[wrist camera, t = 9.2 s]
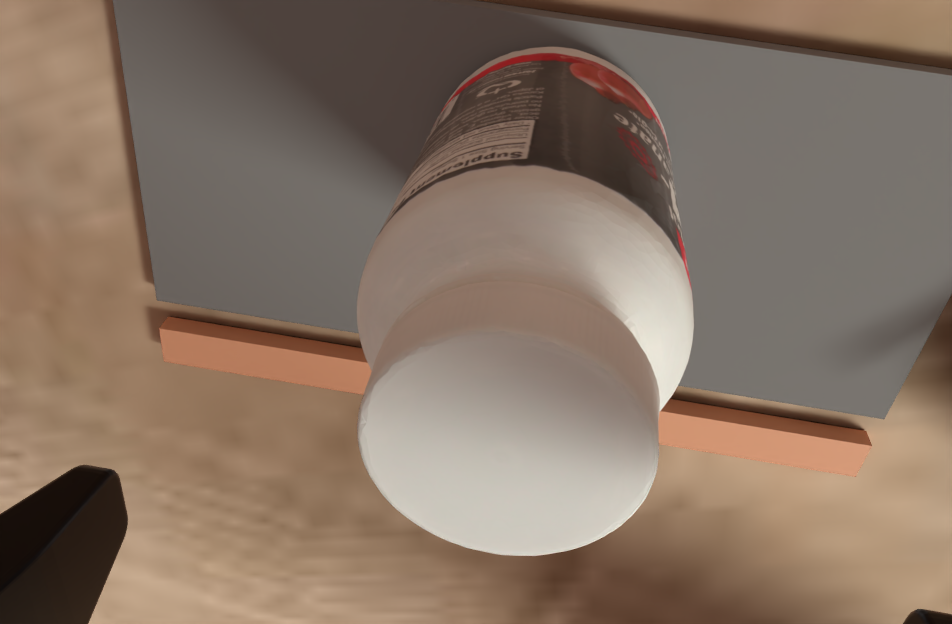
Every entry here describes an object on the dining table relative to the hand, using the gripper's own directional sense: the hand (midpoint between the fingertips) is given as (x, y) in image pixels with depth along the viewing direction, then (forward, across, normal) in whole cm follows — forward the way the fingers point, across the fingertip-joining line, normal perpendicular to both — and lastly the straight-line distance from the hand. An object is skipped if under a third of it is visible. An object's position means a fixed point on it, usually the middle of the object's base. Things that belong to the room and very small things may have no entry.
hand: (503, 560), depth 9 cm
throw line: (+12, 0, +8) cm, 14 cm away
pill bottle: (+12, 0, 0) cm, 12 cm away
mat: (+12, 0, +2) cm, 12 cm away
